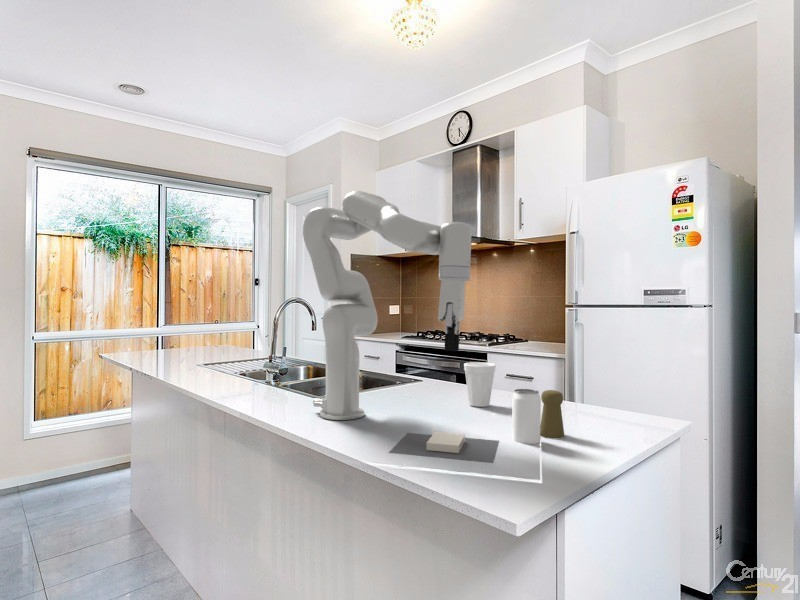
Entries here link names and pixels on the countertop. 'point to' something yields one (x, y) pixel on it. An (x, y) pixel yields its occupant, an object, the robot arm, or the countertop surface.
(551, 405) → the cork
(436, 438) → the tile
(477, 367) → the cup
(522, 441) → the can
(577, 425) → the countertop surface
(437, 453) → the mat
